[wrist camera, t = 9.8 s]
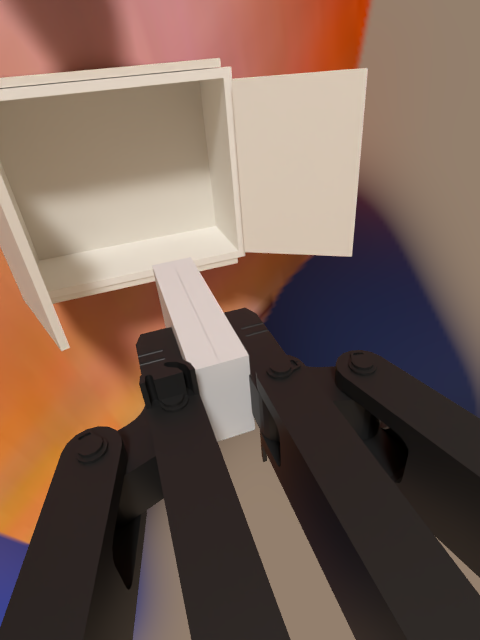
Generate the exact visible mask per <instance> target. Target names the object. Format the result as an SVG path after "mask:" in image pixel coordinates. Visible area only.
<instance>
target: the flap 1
mask: <svg viewBox="0 0 480 640" xmlns="http://www.w3.org/2000/svg"><path fill="white" fill-rule="evenodd" d="M0 247H1V249H2V251H3V254H4V256H5V258H6V261H7V263H8V265H9V267H10V270H11V272H12V274H13V276H14V279H15V281H16V283H17V285H18V288H19V290H20V292H21V294H22V297H23V299H24V300H25V302H26V303H27V305H28V306H29V307H30V309H31V310H32V311H33V313H34V314H35V316H36V317H37V318H38V320H39V321H40V322H41V324H42V325H43V326H44V328H45V329H46V331H47V332H48V333H49V335H50V336H51V337H52V339H53V340H54V342H55V343H56V344H57V346H58V347H59V348H60V350H61V351H63V350H65V349H68V348H70V347H69V344H68V342H67V339H66V337H65V334H64V332H63V329H62V327H61V324H60V322H59V319H58V317H57V314H56V312H55V309H54V307H53V304H52V302H51V299H50V296H49V294H48V291H47V289H46V286H45V284H44V281H43V279H42V276H41V274H40V271H39V269H38V266H37V264H36V261H35V259H34V256H33V254H32V251H31V249H30V246H29V244H28V241H27V239H26V236H25V234H24V231H23V229H22V226H21V224H20V221H19V219H18V216H17V214H16V211H15V209H14V206H13V204H12V201H11V199H10V196H9V194H8V191H7V189H6V186H5V184H4V181H3V179H2V176H1V173H0Z"/></svg>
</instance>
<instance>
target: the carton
mask: <svg viewBox="0 0 480 640" xmlns="http://www.w3.org/2000/svg"><path fill="white" fill-rule="evenodd" d="M213 67H215V68H213ZM231 79H232V72H231V67H221V63H220V58H214V59H203V60H192V61H181V62H170V63H159V64H148V65H137V66H126V67H115V68H104V69H93V70H82V71H71V72H60V73H49V74H39V75H28V76H17V77H6V78H0V173H1V176H2V179H3V181H4V184H5V186H6V189H7V191H8V194H9V196H10V199H11V201H12V204H13V206H14V209H15V211H16V214H17V216H18V219H19V221H20V224H21V226H22V229H23V231H24V234H25V236H26V239H27V241H28V244H29V246H30V249H31V251H32V254H33V256H34V259H35V261H36V264H37V266H38V269H39V271H40V274H41V276H42V279H43V281H44V284H45V286H46V289H47V291H48V294H49V296H50V299H51V302H52V304H54V303H58V302H63V301H67V300H72V299H76V298H81V297H85V296H90V295H94V294H99V293H104V292H108V291H113V290H117V289H122V288H126V287H131V286H135V285H140V284H144V283H149V282H153V281H155V277H154V272H153V268H152V265H156V264H160V263H165V262H170V261H175V260H180V259H184V258H189V257H191V258H192V260H193V262H194V263H195V265H196V267H197V268H198V270H199V271H203V270H208V269H212V268H217V267H222V266H226V265H231V264H235V263H238V257H243V256H245V250H244V237H243V224H242V211H241V198H240V185H239V172H238V158H237V145H236V132H235V119H234V106H233V93H232V80H231Z"/></svg>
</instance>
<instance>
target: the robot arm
mask: <svg viewBox="0 0 480 640" xmlns="http://www.w3.org/2000/svg"><path fill="white" fill-rule="evenodd" d="M152 268H153V272H154V277H155V281H156V286H157V290H158V295H159V299H160V304H161V308H162V313H163V317H164V322H165V326H166V328H165V329H161V330H157V331H153V332H149V333H145V334H141V335H140V337H139V339H138V342H137V344H136V348H137V354H138V359H139V364H140V369H141V374H142V375H141V376H140V383H139V385H140V388H141V392H142V395H143V398H144V402H145V407H144V409H143V411H142V412H141V414H140V415H139V416H138V417H137V418H136V419H135V420H134V421H133V422H131V423H130V424H128V425H127V426H125V427H123V428H122V429H120V430H118V431H117V430H115V429H112V428H110V427H99V426H98V427H94V428H90V429H87V430H85V431H83V432H81V433H79V434H78V435H76V436H75V437H74V438H73V439H72V440H70V441H69V442H68V443H67V445H66V446H65V448H64V450H63V451H62V453H61V456H60V459H59V462H58V465H57V467H56V470H55V473H54V476H53V479H52V482H51V484H50V487H49V490H48V493H47V496H46V499H45V502H44V504H43V507H42V510H41V513H40V516H39V519H38V522H37V524H36V527H35V530H34V533H33V536H32V539H31V541H30V544H29V547H28V550H27V553H26V556H25V559H24V561H23V564H22V567H21V570H20V573H19V576H18V579H17V582H16V585H15V587H14V590H13V593H12V596H11V599H10V602H9V604H8V607H7V610H6V613H5V616H4V618H3V622H2V624H1V627H0V640H132V639H133V630H134V622H135V613H136V604H137V595H138V587H139V577H140V568H141V560H142V550H143V542H144V533H145V524H146V516H147V509H148V508H150V507H152V506H153V505H154V504H156V503H157V502H159V501H160V500H162V499H163V498H164V500H165V506H166V510H167V516H168V521H169V526H170V531H171V537H172V541H173V547H174V552H175V556H176V562H177V568H178V572H179V577H180V583H181V588H182V593H183V598H184V604H185V609H186V614H187V619H188V624H189V629H190V634H191V639H192V640H290V637H289V635H288V632H287V629H286V626H285V624H284V621H283V618H282V616H281V613H280V610H279V608H278V605H277V602H276V599H275V597H274V594H273V591H272V589H271V586H270V583H269V580H268V578H267V575H266V572H265V570H264V567H263V564H262V561H261V559H260V556H259V553H258V551H257V548H256V545H255V542H254V540H253V537H252V534H251V532H250V529H249V527H248V524H247V521H246V518H245V515H244V513H243V510H242V508H241V505H240V502H239V499H238V496H237V494H236V491H235V488H234V486H233V483H232V481H231V478H230V475H229V472H228V469H227V467H226V464H225V461H224V459H223V456H222V453H221V451H220V448H219V445H218V443H217V442H218V441H221V440H224V439H227V438H230V437H234V436H236V435H240V434H243V433H246V432H249V431H252V430H255V423H254V418H255V420H256V422H257V424H258V426H259V428H260V437H261V450H262V457H263V462H265V461H267V456H268V458H269V459H270V462H271V464H272V466H273V468H274V470H275V472H276V474H277V476H278V479H279V480H280V483H281V485H282V487H283V489H284V491H285V493H286V495H287V497H288V499H289V501H290V503H291V506H292V508H293V510H294V512H295V514H296V516H297V518H298V520H299V522H300V524H301V526H302V529H303V530H304V533H305V535H306V537H307V539H308V541H309V543H310V545H311V547H312V549H313V551H314V553H315V555H316V558H317V559H318V562H319V564H320V566H321V568H322V570H323V572H324V574H325V576H326V578H327V580H328V583H329V585H330V587H331V589H332V591H333V593H334V595H335V597H336V599H337V601H338V603H339V606H340V607H341V610H342V612H343V614H344V616H345V618H346V620H347V622H348V624H349V626H350V628H351V630H352V633H353V635H354V637H355V639H356V640H480V595H479V594H478V592H477V591H476V590H475V588H474V587H473V586H472V585H471V583H470V582H469V581H468V579H467V578H466V577H465V575H464V574H463V573H462V571H461V570H460V569H459V568H458V566H457V565H456V564H455V562H454V561H453V559H452V558H451V557H450V556H449V554H448V553H447V552H446V550H445V549H444V548H443V546H442V545H441V544H440V543H439V541H438V540H437V538H438V539H439V540H440V541H441V542H442V543H443V544H444V545H445V546H446V547H447V548H449V549H450V550H451V551H452V552H453V553H454V554H455V555H456V556H457V557H458V558H459V559H460V560H461V561H462V562H464V563H465V564H466V565H467V566H468V567H469V568H470V569H471V570H472V571H473V572H474V573H475V574H476V575H478V576H479V577H480V418H478V417H476V416H475V415H473V414H472V413H470V412H468V411H467V410H465V409H464V408H462V407H460V406H459V405H457V404H456V403H454V402H452V401H451V400H449V399H448V398H446V397H444V396H443V395H441V394H440V393H438V392H437V391H435V390H433V389H432V388H430V387H429V386H427V385H425V384H424V383H422V382H421V381H419V380H417V379H416V378H414V377H413V376H411V375H409V374H408V373H406V372H405V371H403V370H401V369H400V368H398V367H397V366H395V365H393V364H392V363H390V362H388V361H387V360H385V359H384V358H382V357H381V356H379V355H377V354H374V353H372V352H368V351H363V350H356V351H349V352H346V353H343V354H342V355H341V356H340V357H338V359H337V362H336V367H307V366H305V365H304V363H302V362H301V361H300V360H299V359H298V358H295V357H293V356H290V355H286V354H285V353H284V351H283V350H282V348H281V347H280V346H279V344H278V343H277V342H276V340H275V339H274V337H273V336H272V335H271V333H270V332H269V331H268V329H267V328H266V326H265V325H264V324H263V322H262V321H261V319H260V318H259V317H258V315H257V314H256V313H254V312H252V311H250V310H249V309H247V308H242V309H238V310H234V311H230V312H225V313H224V312H223V311H222V309H221V307H220V306H219V304H218V302H217V301H216V299H215V297H214V296H213V294H212V292H211V290H210V289H209V287H208V285H207V284H206V282H205V280H204V279H203V277H202V275H201V274H200V272H199V270H198V268H197V267H196V265H195V263H194V262H193V260H192V258H191V257H189V258H184V259H180V260H175V261H170V262H165V263H160V264H156V265H152ZM436 537H437V538H436Z"/></svg>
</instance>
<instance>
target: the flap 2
mask: <svg viewBox="0 0 480 640" xmlns="http://www.w3.org/2000/svg"><path fill="white" fill-rule="evenodd" d="M367 73H368V68H361V69H349V70H336V71H324V72H311V73H299V74H286V75H274V76H261V77H249V78H236V79H231V80H232V93H233V106H234V119H235V132H236V145H237V158H238V172H239V185H240V198H241V211H242V224H243V237H244V250H245V252H254V253H279V254H304V255H329V256H352V248H353V236H354V225H355V213H356V201H357V190H358V178H359V166H360V155H361V143H362V132H363V120H364V107H365V96H366V84H367Z"/></svg>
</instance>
